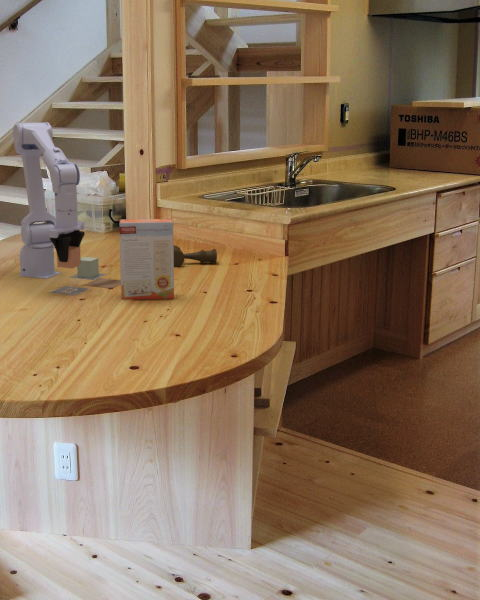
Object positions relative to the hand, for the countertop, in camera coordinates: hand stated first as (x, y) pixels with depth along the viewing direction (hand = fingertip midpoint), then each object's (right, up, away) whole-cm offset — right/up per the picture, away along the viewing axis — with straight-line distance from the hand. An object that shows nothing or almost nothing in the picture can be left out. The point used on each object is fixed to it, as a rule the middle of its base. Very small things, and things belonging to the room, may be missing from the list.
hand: (68, 259), depth 213 cm
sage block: (+2, -4, +19) cm, 19 cm away
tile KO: (0, -9, +2) cm, 9 cm away
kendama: (+29, 0, +38) cm, 48 cm away
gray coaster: (+2, -4, +19) cm, 20 cm away
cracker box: (+22, -10, -2) cm, 24 cm away
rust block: (0, -2, 0) cm, 2 cm away
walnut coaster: (+8, -6, +11) cm, 15 cm away
